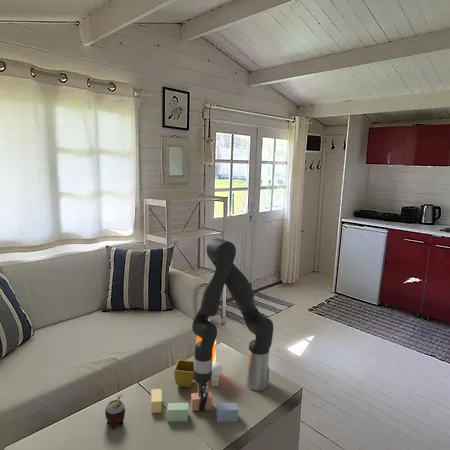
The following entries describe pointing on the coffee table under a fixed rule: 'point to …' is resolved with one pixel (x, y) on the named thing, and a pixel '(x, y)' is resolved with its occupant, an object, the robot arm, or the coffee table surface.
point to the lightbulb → (216, 372)
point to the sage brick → (177, 412)
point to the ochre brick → (156, 401)
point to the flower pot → (184, 373)
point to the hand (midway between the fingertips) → (201, 405)
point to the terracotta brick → (196, 401)
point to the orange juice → (212, 349)
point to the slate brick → (227, 412)
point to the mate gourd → (115, 412)
